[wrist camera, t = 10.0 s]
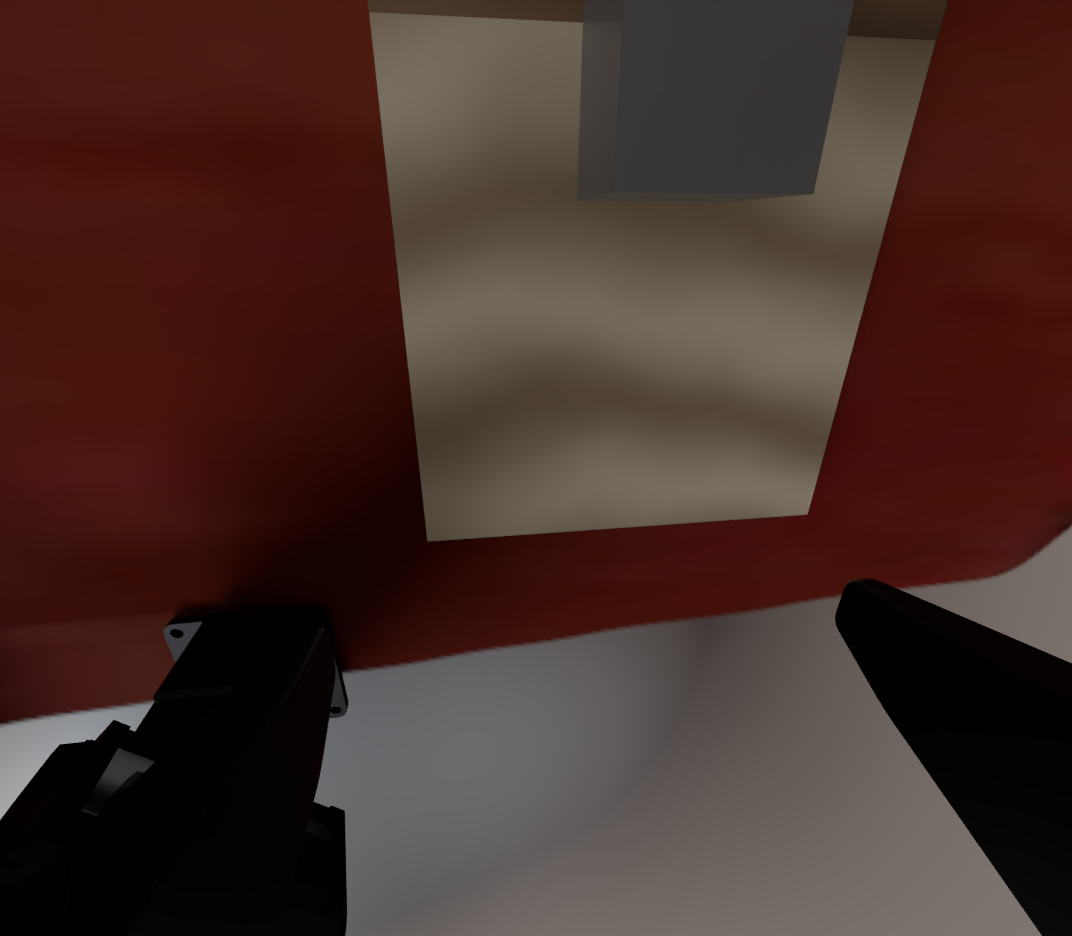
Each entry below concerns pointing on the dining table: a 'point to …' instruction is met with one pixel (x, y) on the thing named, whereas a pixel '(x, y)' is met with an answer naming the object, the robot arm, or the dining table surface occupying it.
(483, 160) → the board
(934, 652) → the robot arm
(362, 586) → the dining table surface
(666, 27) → the block
